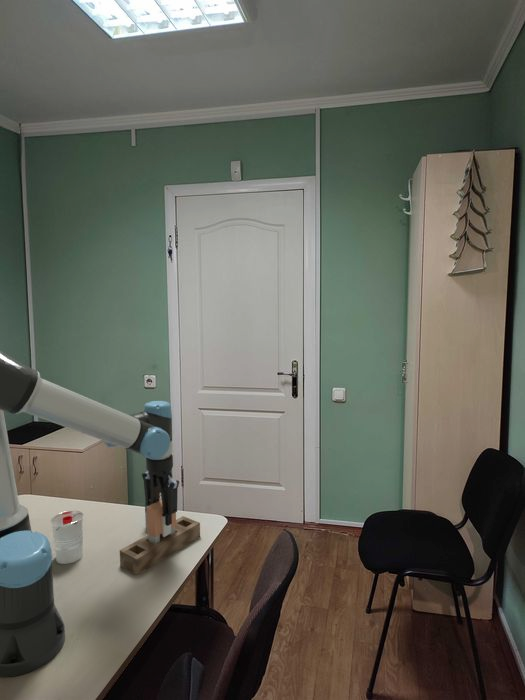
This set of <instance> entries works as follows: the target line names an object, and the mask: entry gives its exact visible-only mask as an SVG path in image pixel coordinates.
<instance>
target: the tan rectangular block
mask: <svg viewBox="0 0 525 700" xmlns="http://www.w3.org/2000/svg"><path fill="white" fill-rule="evenodd" d="M146 514H147V529H146V533H147V535H148V539H149V542H150V543H153V544H157V543H159V542H160V534H162V514H164V512H163V505H162V500H160V501H158V502H155V503H153V504H151V505H149V506H147V507H146ZM176 520H177V512H175V513H174V514H172V524H171V533H170V534H169V535H173V534H175V526H176Z"/></svg>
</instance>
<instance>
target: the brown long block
mask: <svg viewBox="0 0 525 700" xmlns="http://www.w3.org/2000/svg"><path fill="white" fill-rule="evenodd" d="M199 536H200V537H201V522H199V521H196V520H195V519H194V520H193V519H191V518H189V517H187V516H181V517H179V518H176V526H175V534H173V535H167V536H165V537H163V536H162V534H160V542H159V543H157V544H153V543H150V542H149V539H148V534H147V535H146V536H144V537H141V538H139V539H138V540H136V541H134V542H132V543H131V544H129V545H127V546H125V547H123V548H121V549H119V563H120V567H122V568H124V569H125V570H128V571H130V572H131V573H133V574H135V575H136V576H138V575H140V574H142V573H144V571H146V570H149V569H150V568H152V567H153V566H155V565H156V564H158V563H159V562H161V561H163V560H164V559H166V558H167V557H169V556H171V555H172V554H174V553H176V552H177V551H179V550H181V549H182V548H184V547H185V546H187V545H189V544H190V542H191V541H192V542H194V541H195V540H197V539H199V538H200V537H199ZM198 537H199V538H198ZM196 538H197V539H196ZM193 540H194V541H193ZM192 542H191V543H192Z"/></svg>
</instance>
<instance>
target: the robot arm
mask: <svg viewBox="0 0 525 700" xmlns="http://www.w3.org/2000/svg"><path fill="white" fill-rule="evenodd" d="M143 406H144V407H143V411H139V412H135V413H130V414H129V413H128V414H127V413H125V412H122V411H120V410H118V409H115V408H112V407H110V406H109V405H105V404H103V403H101V402H99V401H96V400H94V399H91V398H89V397H86V396H84V395H82V394H79V393H77V392H75V391H73V390H70V389H68V388H66V387H62V386H61V385H58V384H56V383H54V382H51V381H49V380H47V379H44V378H42V377H41V373H40V372H39V371H38V370H35V369H33V368H31V367H29V366H27V365H25V364H23V363H21V362H20V361H18V360H16V359H15V358H13V357H12V356H10V355H8V354H7V353H5V352H4V351H2V350H1V349H0V677H3V678H5V677H16V676H21V675H25V674H27V673H30V672H32V671H35V670H37V669H39V668H41V667H42V666H44V665H45V664H47V663H48V662H50V661H51V660H52V659H53V658H54V657H55V656H56V655H57V654H58V653H59V652H60V650H62V649H61V648H62V647H63V646H64V643H65V640H66V628H65V623H64V621H63V619H62V616H61V615H60V613H59V610H58V608H57V607H56V604H55V596H54V595H55V593H54V578H53V577H54V576H53V574H54V573H53V562H52V561H53V550H52V547H51V543H50V540H49V538H48V537H47V536H46V535H45V534H44V533H41V532H39V531H32V526H31V521H30V515H29V511H28V510H29V509H28V507H26V506H25V505H22V504H20V501H19V496H18V489H17V482H16V477H15V471H14V466H13V460H12V454H11V448H10V442H9V436H8V430H7V425H6V417H5V412H7V413H10V414H13V415H19V414H21V413H26V414H29V415H32V416H34V417H37V418H39V419H43V420H46V421H47V422H48V421H49V422H50V423H52V424H53V423H54V424H57V425H60V426H61V427H65V428H67V429H70V430H73V431H76V432H78V433H81V434H83V435H88V436H89V437H92V438H95V439H98V440H101V441H103V443H104V445H105V446H106V447H110V448H111V447H121V448H123V449H125V450H127V451H131V452H134V453H136V454H138V455H141V456H142V457H143V458H145V466H146V467H145V468H146V470H147V471H145V472H143V473H142V474H141V476H142V479H143V484H144V485H143V486H144V487H143V489H144V504H145V503H146V506H149V505H151V504H153V503H155V502H158V501H159V498H160V493H161V499H162V505H163V512H164V514H162V536H163V537H165V536H167V535H169V534H170V533H171V524H172V514H174V513H175V512H176V513H177V512H178V488H179V486H180V485H179V484H180V481H179V480H177V479H176V480H175V479H174V478H173V475H172V469H173V467H174V455H173V451H174V450H173V413H172V405H171V403H170V402H168V401H165V400H152V401H149V402H146V403H145V404H144V405H143ZM149 500H150V501H149Z"/></svg>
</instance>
